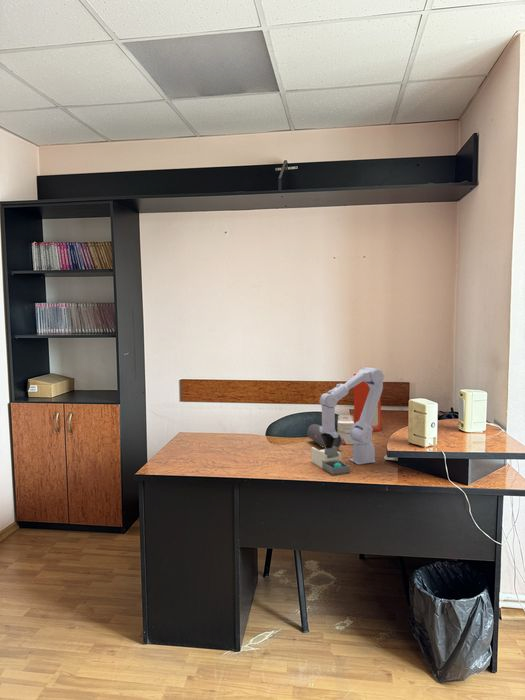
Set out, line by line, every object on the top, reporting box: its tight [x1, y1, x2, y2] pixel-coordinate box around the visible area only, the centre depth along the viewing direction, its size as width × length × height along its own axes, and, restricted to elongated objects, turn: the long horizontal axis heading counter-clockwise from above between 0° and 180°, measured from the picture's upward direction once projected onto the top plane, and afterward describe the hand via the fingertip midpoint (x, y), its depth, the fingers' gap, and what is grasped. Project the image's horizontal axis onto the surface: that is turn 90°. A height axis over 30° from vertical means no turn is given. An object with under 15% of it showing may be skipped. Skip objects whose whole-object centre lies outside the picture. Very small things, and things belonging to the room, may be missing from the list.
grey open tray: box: [323, 460, 351, 476], centre depth 210 cm, size 8×8×3 cm
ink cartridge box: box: [336, 414, 354, 445], centre depth 254 cm, size 9×5×15 cm, turn 84°
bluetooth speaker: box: [306, 423, 342, 449], centre depth 250 cm, size 23×9×10 cm, turn 21°
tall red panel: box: [353, 373, 382, 433], centre depth 285 cm, size 8×17×32 cm, turn 19°
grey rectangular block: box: [324, 446, 338, 457], centre depth 214 cm, size 5×2×4 cm, turn 110°
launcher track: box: [310, 446, 342, 469], centre depth 219 cm, size 8×14×7 cm, turn 20°
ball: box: [334, 462, 342, 468], centre depth 209 cm, size 4×4×4 cm
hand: (328, 449), depth 216 cm, fingers closed
